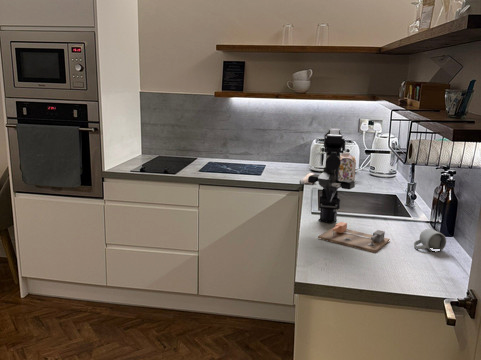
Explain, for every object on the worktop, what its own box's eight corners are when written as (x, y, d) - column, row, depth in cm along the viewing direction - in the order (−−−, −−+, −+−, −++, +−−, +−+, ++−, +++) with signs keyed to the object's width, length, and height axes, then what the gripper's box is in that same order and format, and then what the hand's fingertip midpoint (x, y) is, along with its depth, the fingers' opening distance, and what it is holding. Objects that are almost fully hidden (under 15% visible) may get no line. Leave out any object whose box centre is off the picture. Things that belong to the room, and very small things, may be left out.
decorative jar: (354, 183, 291) (357, 154, 286) (335, 183, 291) (337, 153, 287) (350, 179, 302) (352, 151, 298) (331, 178, 302) (334, 150, 298)
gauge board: (317, 238, 194) (318, 227, 193) (334, 228, 207) (335, 218, 206) (375, 252, 181) (376, 241, 180) (389, 241, 194) (390, 230, 193)
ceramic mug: (434, 244, 192) (436, 226, 190) (445, 252, 184) (447, 233, 182) (409, 245, 191) (411, 227, 189) (419, 253, 183) (421, 234, 181)
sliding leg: (329, 234, 195) (330, 227, 194) (339, 228, 203) (340, 221, 202) (336, 236, 193) (337, 229, 193) (346, 230, 201) (347, 223, 201)
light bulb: (300, 177, 282) (316, 171, 284) (295, 177, 288) (312, 171, 291) (303, 188, 282) (319, 182, 285) (299, 187, 289) (315, 181, 291)
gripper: (302, 164, 196) (300, 201, 199) (346, 171, 186) (342, 210, 189) (315, 160, 205) (312, 196, 208) (356, 167, 194) (353, 204, 198)
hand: (329, 201), depth 201 cm, fingers closed
